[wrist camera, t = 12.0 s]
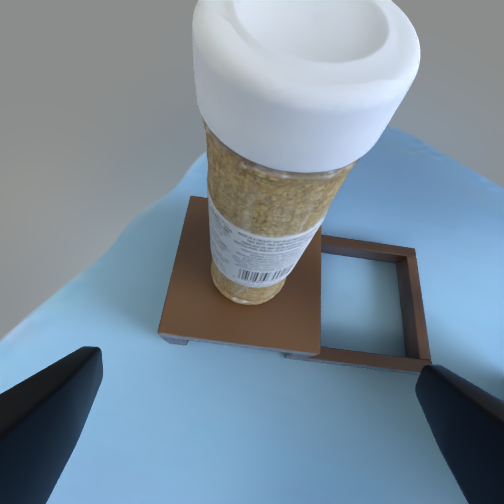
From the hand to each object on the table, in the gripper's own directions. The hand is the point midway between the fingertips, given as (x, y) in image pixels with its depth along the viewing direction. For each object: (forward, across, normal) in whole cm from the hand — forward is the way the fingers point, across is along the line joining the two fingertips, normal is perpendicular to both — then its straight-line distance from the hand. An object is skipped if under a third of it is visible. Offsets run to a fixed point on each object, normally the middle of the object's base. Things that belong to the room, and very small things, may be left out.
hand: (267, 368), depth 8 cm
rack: (+12, -4, +4) cm, 14 cm away
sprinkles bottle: (+10, 0, +1) cm, 10 cm away
